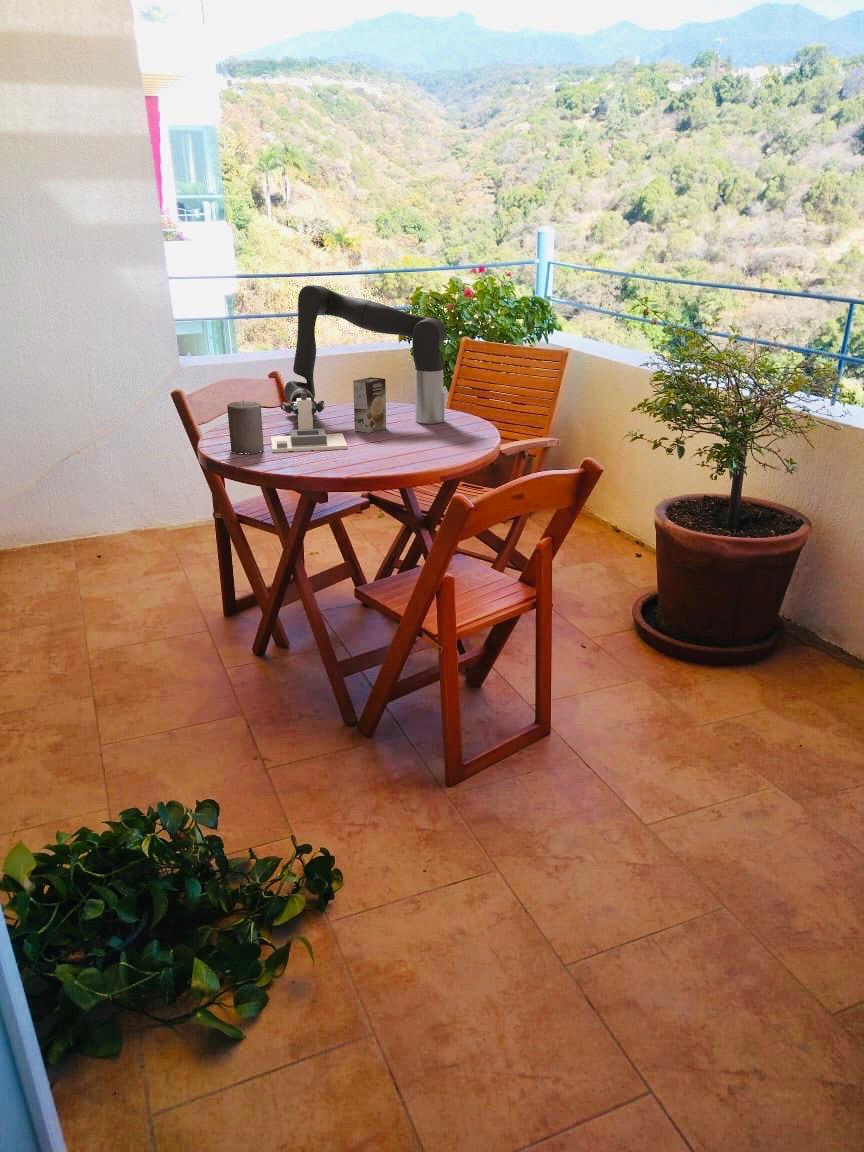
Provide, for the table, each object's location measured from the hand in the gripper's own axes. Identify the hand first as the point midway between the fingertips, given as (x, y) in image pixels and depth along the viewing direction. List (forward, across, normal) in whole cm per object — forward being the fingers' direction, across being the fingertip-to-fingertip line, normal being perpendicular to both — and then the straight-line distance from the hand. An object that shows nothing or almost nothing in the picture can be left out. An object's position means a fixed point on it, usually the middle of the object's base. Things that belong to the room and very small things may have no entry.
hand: (305, 411), depth 260 cm
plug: (-2, 0, +8) cm, 8 cm away
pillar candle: (+16, -18, +8) cm, 25 cm away
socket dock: (+12, 0, +8) cm, 14 cm away
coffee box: (-4, +21, +8) cm, 23 cm away
